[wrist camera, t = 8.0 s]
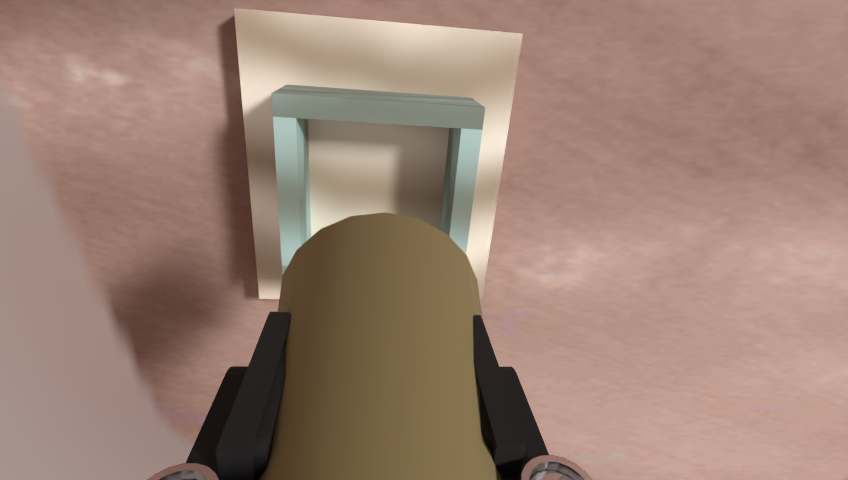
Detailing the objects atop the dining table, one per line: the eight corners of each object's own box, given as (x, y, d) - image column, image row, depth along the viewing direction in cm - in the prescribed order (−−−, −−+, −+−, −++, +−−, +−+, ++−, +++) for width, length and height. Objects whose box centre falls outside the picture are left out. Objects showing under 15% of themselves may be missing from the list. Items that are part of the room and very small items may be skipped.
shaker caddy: (242, 9, 22) (207, 4, 18) (514, 33, 24) (546, 34, 19) (264, 286, 29) (243, 333, 24) (476, 290, 31) (493, 335, 26)
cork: (284, 381, 15) (80, 1132, 5) (272, 208, 12) (-224, 1034, 2) (466, 381, 15) (629, 1034, 5) (491, 216, 13) (887, 872, 3)
